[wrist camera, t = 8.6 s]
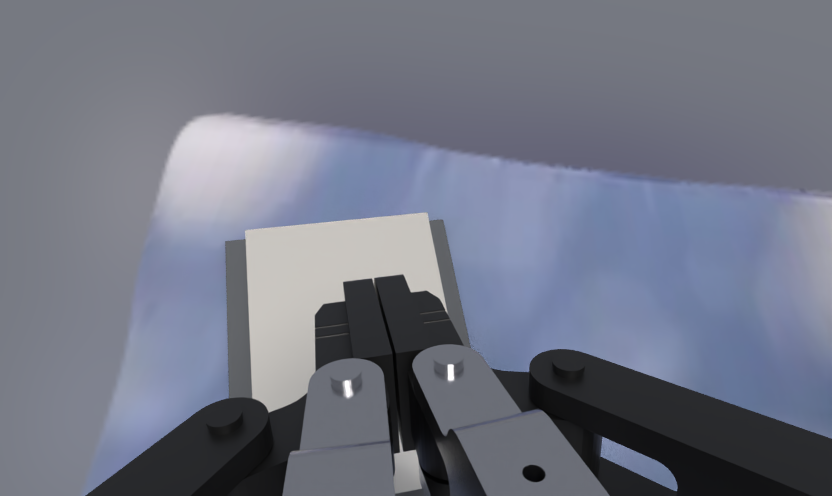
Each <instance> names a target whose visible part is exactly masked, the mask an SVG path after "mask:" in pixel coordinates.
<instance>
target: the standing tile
mask: <svg viewBox="0 0 832 496" xmlns="http://www.w3.org/2000/svg"><path fill="white" fill-rule="evenodd" d="M245 236H246V260H247V284H248V308H249V331H250V355H251V379H252V399H256V400H258V401H260V402H262V403H263V404H264V405H265V406H266V407H267V410H268V413H269V412H272V411H274V410H277V409H280V408H282V407H285V406H287V405H289V404H291V403H293V402H295V401H297V400H298V399H300V398H301V397H303V396H304V395H305V394H306V393H307V391H308V384H309V380H310V378H311V376H312V375H313V374H314V373H315V314H316V313H317V312H318V310H319V309H320V308H321V306H322V305H323V304H327V303H334V302H342V301H345V298H344V288H343V282H345V281H353V280H361V279H369V278H372V280H373V283H374V278H377V277H385V276H393V275H401V274H403V275H404V277H405V279H406V282H407V284H408V287H409V289H410V291H411V292H419V291H426V290H427V291H428V292H430V293H431V294H433V295H435V296H436V297H438V298H439V299H440V300H441V302H442V304H443V306H444V308H445V311H446V312H447V308H446V303H445V298H444V293H443V288H442V283H441V278H440V273H439V268H438V263H437V258H436V253H435V248H434V244H433V239H432V234H431V229H430V224H429V219H428V214H427V213H416V214H406V215H396V216H386V217H375V218H365V219H355V220H345V221H335V222H324V223H314V224H304V225H294V226H284V227H273V228H263V229H253V230H245ZM447 314H448V312H447ZM399 444H400V453H396V454H394V460H395V474H394V477H393V478H394V488H395V494H396V493H401V492H407V491H412V490H417V489H422V487H421V484H420V480H419V464H418V456H417V452H416V450H412V451H406V452H403V448H402V444H401V439H400V435H399Z"/></svg>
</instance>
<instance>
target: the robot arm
mask: <svg viewBox="0 0 832 496" xmlns="http://www.w3.org/2000/svg"><path fill="white" fill-rule="evenodd" d="M343 288H344V298H345V301H342V302H334V303H327V304H323V305H322V306H321V308H320V309H319V310H318V312H317V313H316V314H315V373H314V374H313V375H312V376H311V378H310V380H309V384H308V391H307V393H306V394H305V395H304V396H303V397H301V398H300V399H298V400H297V401H295V402H293V403H291V404H289V405H287V406H285V407H282V408H280V409H277V410H274V411H272V412H269V413H268V410H267V407H266V406H265V405H264V404H263V403H262V402H260V401H258V400H256V399H252V398H246V397H236V398H229V399H224V400H221V401H218V402H215V403H212V404H210V405H208V406H206V407H204V408H202V409H201V410H199V411H198V412H196V413H195V414H194V415H192V416H191V417H190V418H188V419H187V420H186V421H184V422H183V423H182V424H180V425H179V426H178V427H176V428H175V429H174V430H172V431H171V432H170V433H168V434H167V435H166V436H164V437H163V438H162V439H160V440H159V441H158V442H156V443H155V444H154V445H152V446H151V447H150V448H148V449H147V450H146V451H145V452H143V453H142V454H141V455H139V456H138V457H137V458H135V459H134V460H133V461H131V462H130V463H129V464H127V465H126V466H125V467H123V468H122V469H121V470H119V471H118V472H117V473H115V474H114V475H113V476H111V477H110V478H109V479H107V480H106V481H105V482H103V483H102V484H101V485H99V486H98V487H97V488H95V489H94V490H93V491H91V492H90V493H89V494H87V495H86V496H395V488H394V478H393V477H394V474H395V460H394V454H396V453H400V444H399V435H400V439H401V444H402V448H403V452H406V451H412V450H416V452H417V456H418V464H419V480H420V484H421V487H422V490H423V492H424V495H425V496H832V439H831V438H828V437H825V436H822V435H819V434H816V433H813V432H810V431H808V430H805V429H802V428H799V427H796V426H793V425H790V424H787V423H784V422H782V421H779V420H776V419H773V418H770V417H767V416H764V415H761V414H759V413H756V412H753V411H750V410H747V409H744V408H741V407H738V406H736V405H733V404H730V403H727V402H724V401H721V400H718V399H715V398H712V397H710V396H707V395H704V394H701V393H698V392H695V391H692V390H689V389H687V388H684V387H681V386H678V385H675V384H672V383H669V382H666V381H664V380H661V379H658V378H655V377H652V376H649V375H646V374H643V373H640V372H638V371H635V370H632V369H629V368H626V367H623V366H620V365H617V364H615V363H612V362H609V361H606V360H603V359H600V358H597V357H594V356H592V355H589V354H586V353H583V352H579V351H574V350H567V349H556V350H549V351H545V352H542V353H540V354H538V355H537V356H535V357H534V358H533V359H532V361H531V363H530V368H529V372H511V371H501V370H495V369H492V368H490V367H489V365H488V364H487V362H486V361H485V360H484V358H483V357H482V356H481V355H480V354H479V353H478V352H477V351H475V350H473V349H471V348H468V347H465V346H464V345H463V343H462V341H461V339H460V337H459V335H458V333H457V331H456V329H455V327H454V325H453V323H452V321H451V320H450V318H449V316H448V314H447V312H446V311H445V308H444V306H443V304H442V302H441V300H440V299H439V298H438V297H436V296H435V295H433V294H431V293H430V292H428V291H427V290H426V291H419V292H411V291H410V289H409V287H408V284H407V282H406V279H405V277H404V275H403V274H401V275H393V276H385V277H377V278H374V283H373V280H372V278H369V279H361V280H353V281H345V282H343ZM602 437H605V438H607V439H609V440H611V441H614V442H616V443H618V444H621V445H623V446H625V447H627V448H630V449H632V450H634V451H636V452H639V453H641V454H643V455H645V456H648V457H650V458H652V459H654V460H657V461H658V462H660V463H662V464H663V465H665V466H666V467H667V468H668V469H669V470H670V471H671V472H672V474H673V475H674V477H675V479H676V481H677V485H678V490H677V491H673V490H671V489H669V488H666V487H664V486H662V485H660V484H658V483H656V482H654V481H651V480H649V479H647V478H645V477H643V476H641V475H639V474H637V473H634V472H632V471H630V470H628V469H626V468H624V467H622V466H619V465H617V464H615V463H613V462H611V461H609V460H607V459H605V458H602V457H600V455H601V445H602Z"/></svg>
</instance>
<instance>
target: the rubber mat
mask: <svg viewBox="0 0 832 496" xmlns="http://www.w3.org/2000/svg"><path fill="white" fill-rule="evenodd" d="M429 224H430V229H431V234H432V239H433V244H434V248H435V253H436V258H437V263H438V268H439V273H440V278H441V283H442V288H443V293H444V298H445V303H446V308H447V312H448V316H449V318H450V320H451V321H452V323H453V325H454V327H455V329H456V331H457V333H458V335H459V337H460V339H461V341H462V343H463V345H464V346H465V347H468V348H471V347H470V343H469V338H468V333H467V329H466V324H465V319H464V315H463V310H462V306H461V301H460V296H459V292H458V287H457V282H456V278H455V273H454V268H453V264H452V259H451V255H450V250H449V245H448V241H447V236H446V231H445V227H444V222H443V220H433V221H429ZM225 246H226V286H227V327H228V367H229V398H236V397H246V398H252V379H251V355H250V331H249V308H248V284H247V260H246V239H244V240H235V241H225ZM395 496H425V495H424V492H423V490H422V489H417V490H412V491H407V492H401V493H396V494H395Z"/></svg>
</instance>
